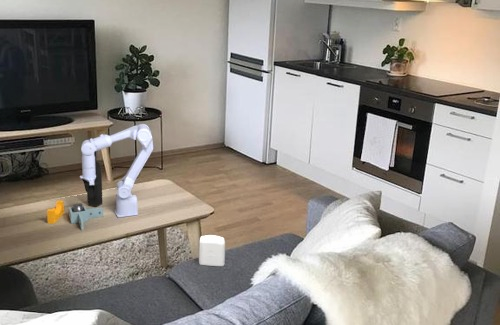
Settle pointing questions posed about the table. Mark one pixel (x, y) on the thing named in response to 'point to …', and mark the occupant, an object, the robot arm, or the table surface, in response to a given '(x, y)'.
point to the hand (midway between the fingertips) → (89, 194)
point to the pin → (78, 207)
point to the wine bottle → (98, 191)
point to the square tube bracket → (84, 215)
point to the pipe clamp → (55, 212)
